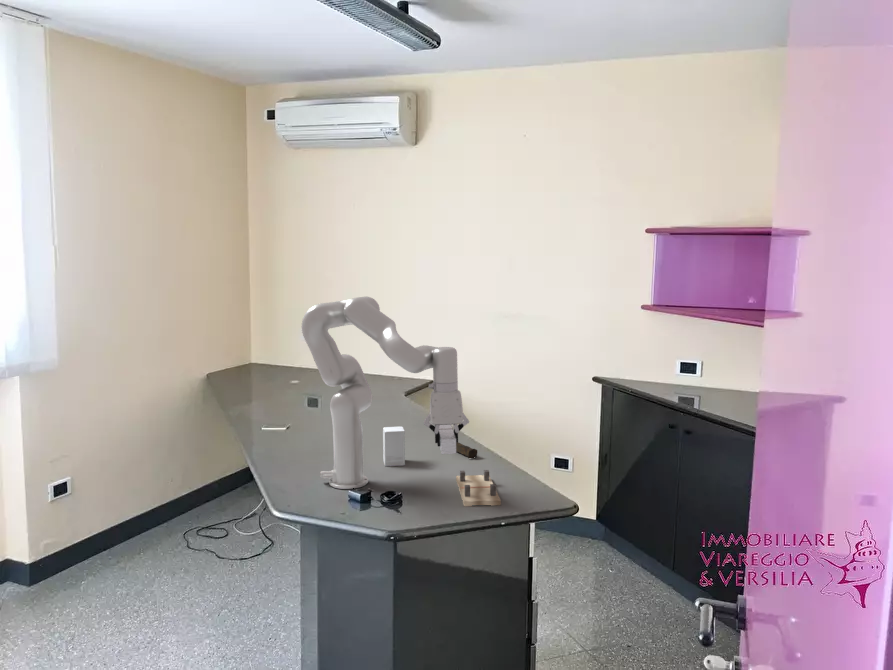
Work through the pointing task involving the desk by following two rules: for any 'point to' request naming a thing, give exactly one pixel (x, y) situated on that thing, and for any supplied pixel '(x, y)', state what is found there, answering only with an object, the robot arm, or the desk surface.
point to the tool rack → (477, 489)
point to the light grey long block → (447, 439)
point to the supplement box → (393, 446)
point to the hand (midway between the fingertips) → (446, 444)
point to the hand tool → (466, 450)
